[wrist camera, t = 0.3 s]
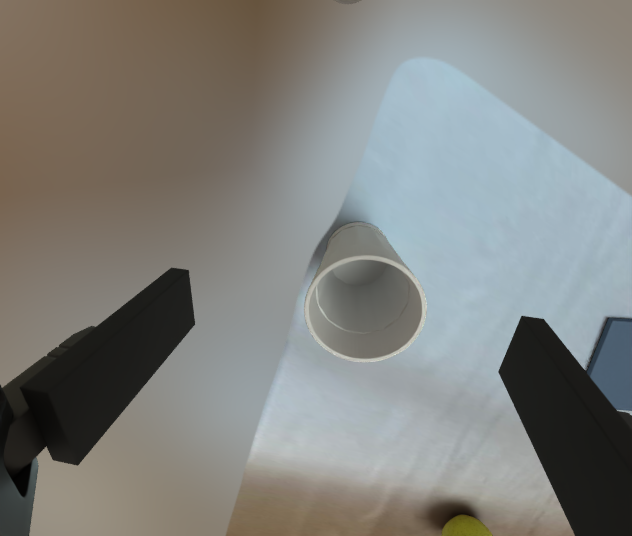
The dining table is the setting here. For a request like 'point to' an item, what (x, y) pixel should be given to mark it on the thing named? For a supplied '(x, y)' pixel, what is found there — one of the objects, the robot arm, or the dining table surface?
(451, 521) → the fruit
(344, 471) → the dining table surface
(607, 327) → the mat
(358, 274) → the cup
